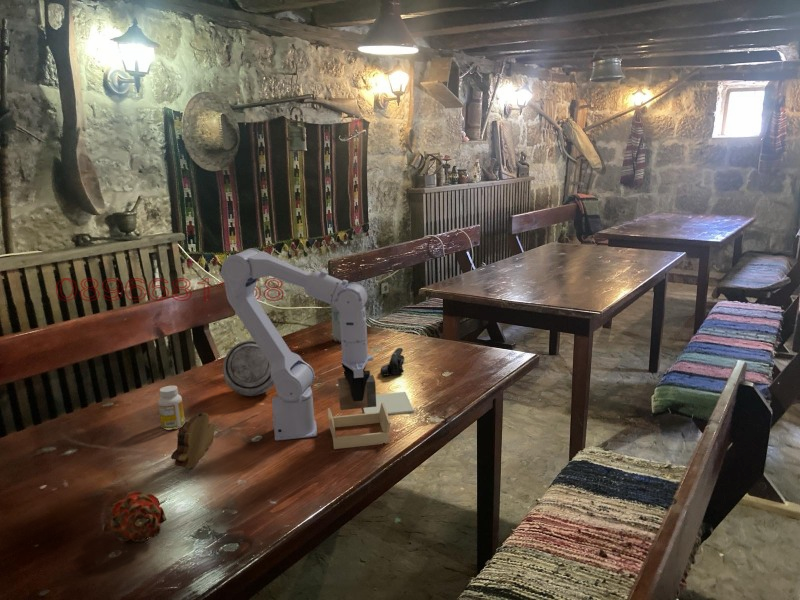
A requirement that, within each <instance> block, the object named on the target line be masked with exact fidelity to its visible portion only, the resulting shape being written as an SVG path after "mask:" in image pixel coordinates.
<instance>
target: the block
mask: <svg viewBox="0 0 800 600" xmlns="http://www.w3.org/2000/svg"><path fill="white" fill-rule="evenodd" d="M337 384H338V385H337V386H338V401H339V408H340V411H345V410H346V411H348V410H355V409H356V410H357V409H363V408H368V407H376V395H377V392H376V391H377V390H376V380H375V377H374V375H372V374H370V376H369V378H368V380H367V382H366V386H365V392H364V398H363V401H355V402H354V401H353V398H352V394H351V389H350V386H349V383H348V381H347V379H346V378H345V377H339V378H337Z"/></svg>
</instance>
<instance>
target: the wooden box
mask: <svg viewBox="0 0 800 600" xmlns="http://www.w3.org/2000/svg"><path fill="white" fill-rule="evenodd" d="M326 409H327V415H328V416H327V417H328V423H329V431H330V434H331V436H332V437H331V438H332V444H333V450H338V449H347V448H356V447H367V446H375V445H383V443H385V444H390V435H389V434H390V433H389V432H390V428H391V423H392V422H391V420H390V415H388V414H387V411H386V408H385V405H384V403H381V407H380V411H379V412H376V413H366V414H365V413H358V414H357V413H355V414H346V415H337V416H333V414H332V411H331V408H330V407H328V408H326ZM372 424H380V428H381V431H380V432H371V433H362V434H354V435H343V436H337V435H336V428H344V427H345V428H346V427H353V426H362V425H363V426H365V425H372Z"/></svg>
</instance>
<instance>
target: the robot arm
mask: <svg viewBox="0 0 800 600" xmlns="http://www.w3.org/2000/svg"><path fill="white" fill-rule="evenodd" d="M219 273H220V274H219V275H220V277H221V278H222V280H223V282H224V289H225V294H226V298H227V299H226V300H227V302H228V304H229V305H230V306H231V307H232V309H233V311H234V312H235V313H236V315H237V317H238V318H239V320H240V321H241V323H242V324H243V326H244V327H245V329H246V330H247V332H248V334H249V335H250V336H251V338H252V339H253V340H254V341H255V342H256V344H257V345H258V347H259V348H260V350H261V351H262V353H263V354H264V356H265V357H266V359H267V360H268V362H269V363H270V365H271V378H272V380H273V381H274V388H275V392H276V394H277V396H274V397H272V399H271V401H272V402H271V404H272V405H271V407H272V408H271V409H272V419H273V420H272V429H274V431H273V432H274V433H273V434H274V440H275V441H285V440H293V439H294V440H295V439H305V438H314V437H317V436H318V428H317V421H316V420H315V414H314V413H315V412H314V411H315V410H314V400H313V391H312V388H311V386H312V384H313V382H314V380H315V377H316V376H315V370H314V369H313V367H312V366H311V364H309V363H307V362H306V361H304V360H303V359H302V357H301V355H300V354H297V353H296V352H292V351H291V349H290V347H289V346H288V344H287V343H286V341H284V339H283V337H282V336H281V334H280V333H279V331H278V330H277V328H276V326H275V325H274V324H273V322H272V321H271V319H270V317H269V316H268V315H267V312H266V311H265V310H264V308H263V307H262V305H261V304H260V302H259V301H258V299H257V298H256V297H255V294H254V293H255V289H256V285H257V281H258V279H261V278H265V277H273V278H275V279H278V280H281V281H284V282H287V283H289V284H292V285H296V286H298V287H302V288H303V290H304V291H305V294H306V295H307V296H309V297H312V298H314V299H317V300H319V301H321V302H324V303H326V304H329V305H330V304H331V305H333V306H336V308H337V309H338V311H339V312H340V328H341V342H340V343H341V347H340V348H341V367H342V368H343V370H344V371H343V376H344V378H346V379H347V381H348V383H349V386H350V389H351V394H352V398H353V401H354V402H355V401H363V398H364V392H365V386H366V382H367V380H368V378H369V376H370V375H371V371H370V370H366V367H367V365H368V363H369V362H372V361H374V356H373V355H372V354H369V350H368V332H367V330H368V329H367V328H368V327H367V315H366V306H365V305H366V303H367V301H368V297H369V295H368V291H367V289H366V288H365V286H363V285H362V284H360V283H359V282H356V281H353V282H349V280H346V279H343V280H341V279H339V278H338V277H337V278H336V277H334V276H333V275H332V276H331V275H329V272H328V271H327V270H324V269H323V270H321V271H319V270H316V271H314V272H311V273H310V272H308V271H305V270H303V269H301V268H299V267H296V266H294V265H292V264H290V263H288V262H286V261H284V260H282V259H279V258H277V257H275V256H273V255H272V254H270V253H269V252H266V251H260V250H259V249H256V248H254V247H253V248H252V247H251V248H246V249H244V250H243V251H241V252H238V253H235V254H231V255H229V256H227V257H226V258H225V259H224V260H223V263H222V266H221V269H220V272H219ZM368 354H369V355H368Z"/></svg>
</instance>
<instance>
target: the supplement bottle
mask: <svg viewBox="0 0 800 600" xmlns="http://www.w3.org/2000/svg"><path fill="white" fill-rule="evenodd" d="M159 396H160V397H159V398H158V400H157V405H158V411H159V420H160V426H161V428H162V427H164V428H174V427H178V426H181V425H182V424H184V423H185V422H186V419H185V412H184V404H183V397H182V396H181V395H180V394H179V389H178V386H177V385H166V386H163V387H161V388H160V389H159Z"/></svg>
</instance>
